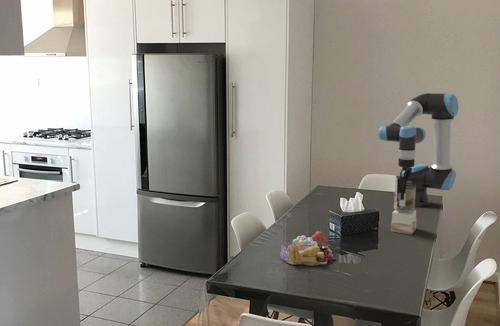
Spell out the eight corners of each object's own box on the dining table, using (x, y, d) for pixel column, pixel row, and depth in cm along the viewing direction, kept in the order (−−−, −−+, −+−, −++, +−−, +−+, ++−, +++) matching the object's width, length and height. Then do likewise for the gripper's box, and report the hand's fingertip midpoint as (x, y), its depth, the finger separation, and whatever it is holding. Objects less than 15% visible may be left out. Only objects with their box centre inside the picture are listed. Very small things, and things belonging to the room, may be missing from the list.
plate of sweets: (339, 266, 219) (340, 245, 217) (283, 268, 217) (283, 247, 215) (326, 245, 243) (327, 226, 241) (276, 247, 241) (276, 228, 240)
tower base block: (396, 226, 269) (396, 216, 268) (416, 229, 264) (416, 219, 263) (390, 231, 261) (391, 222, 260) (411, 235, 256) (411, 225, 255)
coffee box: (395, 210, 257) (397, 178, 254) (393, 207, 264) (394, 175, 260) (415, 211, 256) (416, 178, 253) (412, 207, 263) (414, 175, 260)
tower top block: (397, 217, 268) (398, 207, 267) (415, 220, 263) (416, 210, 262) (391, 221, 260) (392, 212, 259) (410, 224, 255) (410, 214, 254)
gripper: (404, 154, 266) (402, 197, 270) (393, 161, 248) (391, 207, 252) (419, 155, 262) (417, 199, 267) (409, 162, 244) (407, 210, 249)
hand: (404, 203), depth 260 cm, fingers closed on coffee box, 8 cm apart
